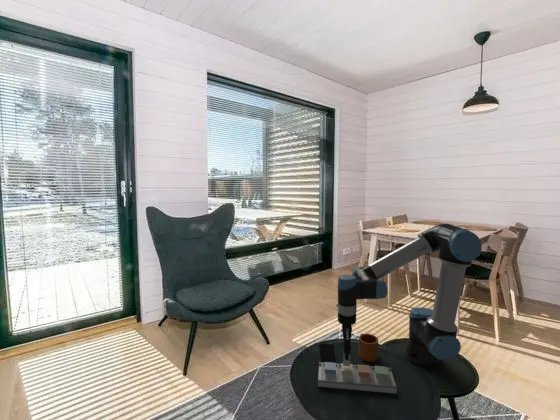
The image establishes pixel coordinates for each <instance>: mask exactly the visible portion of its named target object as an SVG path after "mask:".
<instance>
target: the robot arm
mask: <svg viewBox="0 0 560 420" xmlns="http://www.w3.org/2000/svg"><path fill="white" fill-rule="evenodd" d="M482 246H483V245H482V242H481V239H480V237H479V236H478V235H477V234H476V233H474V232H472V231H470V230H468V229H467V228H462V227H459V226H458V225H457V226H456V225H455V224H450V223H442V224H441V223H440V224H438V225H435V226H432V227H429V228H428V229H426V230H424V231H423V232H421V233H419V234H417V237H416V238H415V239H413V240H410V241H409V242H407V243H405V244H403V245H402V246H400V247H398V248H397V249H394V250H393V251H391V252H390V253H387V254H386V255H384V256H383V257H381V258H379V259H377V260H375V261H373V262H371V263H370V264H368V265H366V266H356V267H355V268H354V269H353V271H352V273H351V274H347V273H346V274H342V275H340V276H339V277H338V278H337V287H336V288H337V304H336V308H337V322H338V323H339V324H340V325H341V331H342V338H343V339H342V340H343V343H342V345H343V346H342V348H343V349H342V350H341V353H343V355H342V356H343V357H342V359H343V360H342V361H343V362H342V363H343V366H350V364H351V350H352V346H351V343H352V341H351V339H352V332H353V327H352V326H354V325H355V324H356V323H357V311H358V310H357V305H358V304H357V300H379V299H385V298H387V295H388V286H387V283H386V281H385V280H384V279H382V278H384V277H386V276H387V275H389V274H391V273H393V272H395V271H397V270H398V269H400V268H402V267H404V266H405V265H407V264H409V263H411V262H413V261H414V260H417V259H418V258H420V257H423V256H424V255H426V254H433V253H434V252H436V251H439V254H438V259H439V261H441V267H440V271H439V275H438V276H439V277H438V281H437V287H436V291H435V292H436V293H435V297H434V303H433V307H432V308H428V307H413V308H412V309H410V311H409V316H408V318H409V319H408V321H409V322H408V323H409V325H408V329H409V330H408V340H407V342H406V344H405V346H404V352H403V353H404V356H405V358H406V359H407V360H409V361H410V362H412V363H413V364H416V365H419V366H423V367H435V366H437V365H438V364H440V361H449V360H451V359H453V358H455V357H456V356H458V355H459V353H460V351H461V349H462V348H461V347H462V344H461V342H460V340H459V339H458V338H457V336H458V335H457V334H458V330H459V327H458V326H457V324H456V323H455V322H456V318H457V313H458V309H459V303H460V299H461V294H462V288H463V284H464V279H465V274H466V269H467V268H468V267H471V266H472V264H473V263H472V262H473V261H475V260H476V259H477V258H478V257H480V255H481V253H482V248H483V247H482Z"/></svg>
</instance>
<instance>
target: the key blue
mask: <svg viewBox="0 0 560 420" xmlns="http://www.w3.org/2000/svg"><path fill="white" fill-rule="evenodd" d="M336 364H337V362H336V363H331V362H325V368H324V373H325V374H336Z"/></svg>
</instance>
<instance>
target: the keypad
mask: <svg viewBox="0 0 560 420" xmlns="http://www.w3.org/2000/svg"><path fill="white" fill-rule="evenodd" d="M352 365H353V376H349V375H341V363H336V374H325V373H324V368H325V363H322V362H321V361H320V362H318V375H317V376H318V377H317V388H318V387H319V388H330V389H331V388H332V389H342V390H343V389H344V390H354V391H355V390H356V391H366V392H373V393H374V392H375V393H376V392H377V393H386V394H397V393H398V390H397V389H398V388H397V384H396V382H395V378H394V376H393V372H392V367H387V366H386V367H387V371H388V379H385V378H376V375H375V370H374V366H375V365H374V366H373V365H369V367H370V372H371V377H361V376H358V365H359V364H352Z"/></svg>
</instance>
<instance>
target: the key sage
mask: <svg viewBox="0 0 560 420" xmlns="http://www.w3.org/2000/svg"><path fill="white" fill-rule="evenodd" d="M374 370H375V375H376V378H385V379H388V371H387V366H381V365H374Z"/></svg>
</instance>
